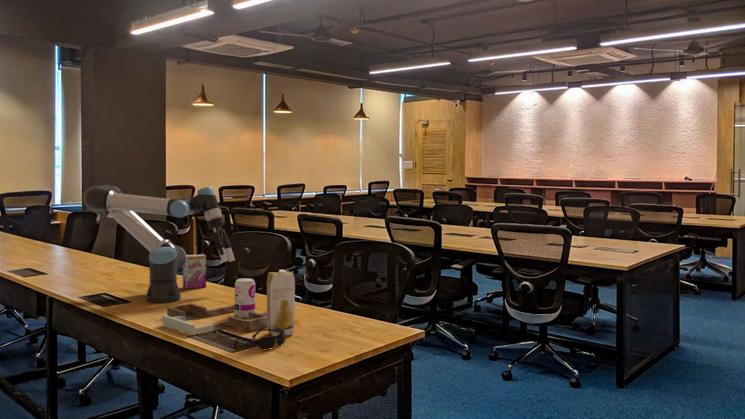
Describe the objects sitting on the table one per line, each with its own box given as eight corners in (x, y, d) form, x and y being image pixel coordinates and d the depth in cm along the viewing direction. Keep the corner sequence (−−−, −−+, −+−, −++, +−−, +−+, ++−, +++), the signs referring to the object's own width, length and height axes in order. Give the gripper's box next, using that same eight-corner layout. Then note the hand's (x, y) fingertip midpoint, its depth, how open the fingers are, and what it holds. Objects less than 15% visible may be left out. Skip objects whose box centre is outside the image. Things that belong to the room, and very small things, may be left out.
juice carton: (271, 338, 217) (272, 272, 216) (265, 332, 224) (265, 268, 223) (296, 335, 222) (296, 270, 220) (289, 329, 229) (289, 267, 227)
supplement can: (258, 314, 252) (258, 278, 250) (248, 319, 244) (248, 282, 243) (241, 312, 254) (241, 277, 253) (231, 317, 246) (230, 280, 245)
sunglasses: (263, 353, 201) (263, 338, 201) (229, 345, 209) (229, 331, 209) (290, 343, 212) (290, 329, 212) (256, 336, 221) (256, 322, 220)
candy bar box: (183, 289, 300) (183, 256, 298) (182, 287, 304) (181, 255, 303) (206, 287, 304) (206, 255, 303) (204, 285, 309) (204, 254, 308)
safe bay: (183, 321, 239) (183, 311, 239) (213, 331, 226) (213, 320, 225) (162, 325, 232) (162, 315, 232) (192, 336, 219) (192, 325, 218)
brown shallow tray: (223, 306, 265) (223, 297, 265) (285, 322, 239) (285, 312, 238) (167, 317, 245) (167, 307, 245) (227, 337, 218) (227, 326, 218)
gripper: (215, 214, 275) (229, 259, 273) (228, 217, 299) (242, 258, 298) (199, 220, 274) (214, 264, 273) (214, 222, 299) (227, 263, 298)
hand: (228, 261), depth 286 cm, fingers open, 13 cm apart
